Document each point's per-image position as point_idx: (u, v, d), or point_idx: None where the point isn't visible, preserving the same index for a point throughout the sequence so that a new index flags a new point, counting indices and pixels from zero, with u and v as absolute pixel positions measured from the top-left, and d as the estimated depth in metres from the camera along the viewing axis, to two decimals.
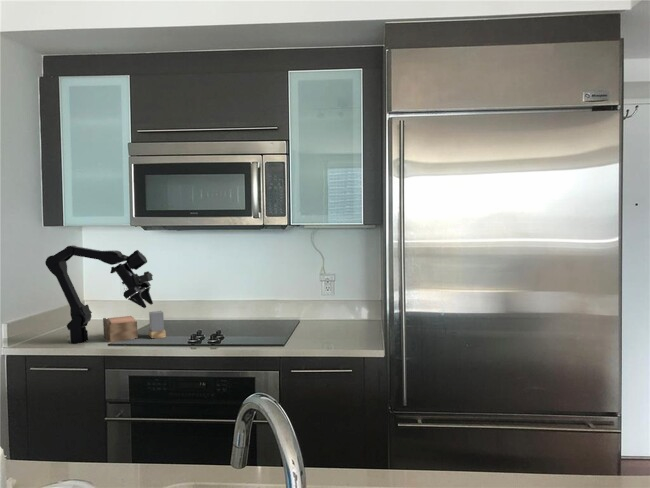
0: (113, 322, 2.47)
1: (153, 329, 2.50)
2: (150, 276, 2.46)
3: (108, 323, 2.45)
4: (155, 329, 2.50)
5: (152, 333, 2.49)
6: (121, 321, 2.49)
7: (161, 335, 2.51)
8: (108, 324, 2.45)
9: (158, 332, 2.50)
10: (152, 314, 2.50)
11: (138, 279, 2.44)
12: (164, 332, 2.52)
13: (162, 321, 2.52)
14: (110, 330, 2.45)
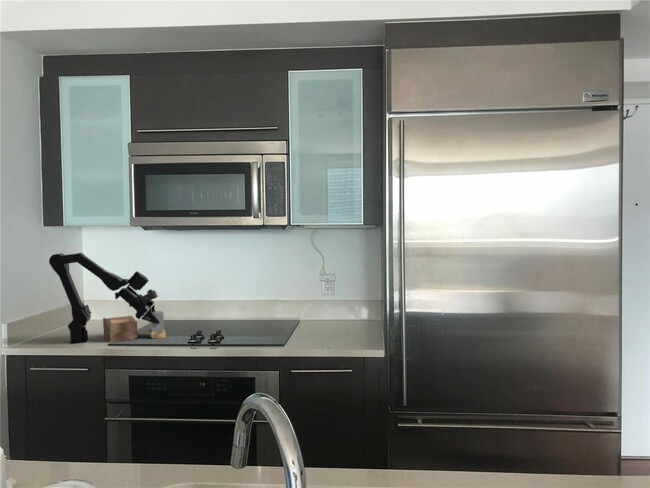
0: (113, 322, 2.47)
1: (153, 329, 2.50)
2: (155, 293, 2.52)
3: (108, 323, 2.45)
4: (155, 329, 2.50)
5: (152, 333, 2.49)
6: (121, 321, 2.49)
7: (161, 335, 2.51)
8: (108, 324, 2.45)
9: (158, 332, 2.50)
10: None
11: (145, 298, 2.49)
12: (164, 332, 2.52)
13: (162, 321, 2.52)
14: (110, 330, 2.45)
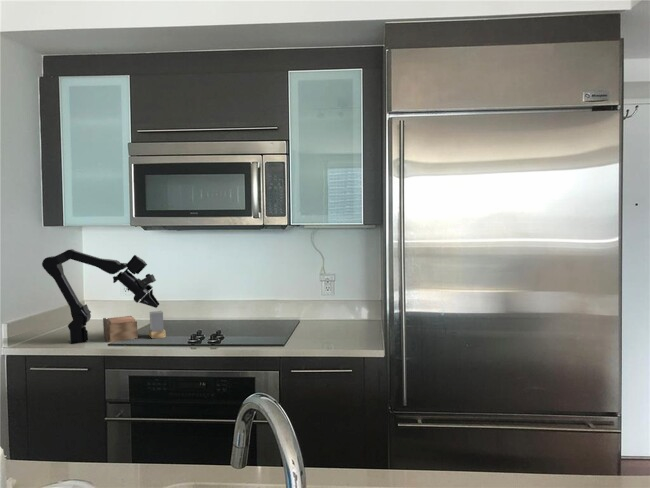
0: (113, 322, 2.47)
1: (152, 329, 2.50)
2: (153, 277, 2.52)
3: (108, 323, 2.45)
4: (154, 329, 2.50)
5: (152, 333, 2.49)
6: (121, 321, 2.49)
7: (161, 335, 2.51)
8: (108, 324, 2.45)
9: (158, 332, 2.50)
10: (151, 314, 2.50)
11: (143, 282, 2.49)
12: (164, 332, 2.52)
13: (162, 321, 2.51)
14: (110, 330, 2.45)
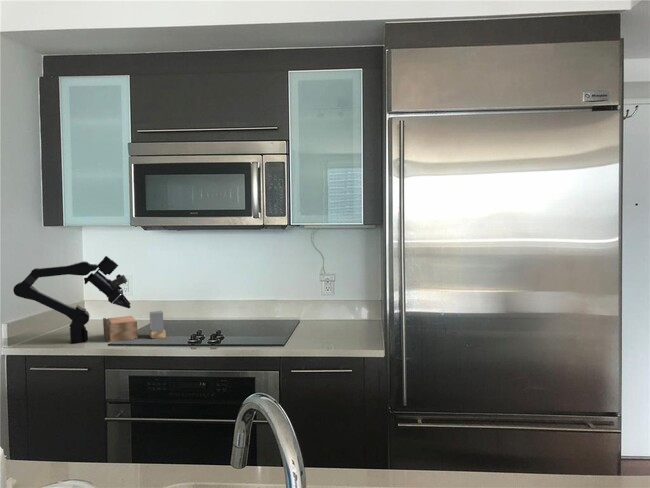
0: (113, 322, 2.47)
1: (152, 329, 2.50)
2: None
3: (108, 323, 2.45)
4: (154, 329, 2.50)
5: (152, 333, 2.49)
6: (121, 321, 2.49)
7: (161, 335, 2.51)
8: (108, 324, 2.45)
9: (158, 332, 2.50)
10: (151, 314, 2.50)
11: (115, 283, 2.50)
12: (164, 332, 2.52)
13: (162, 321, 2.51)
14: (110, 330, 2.45)
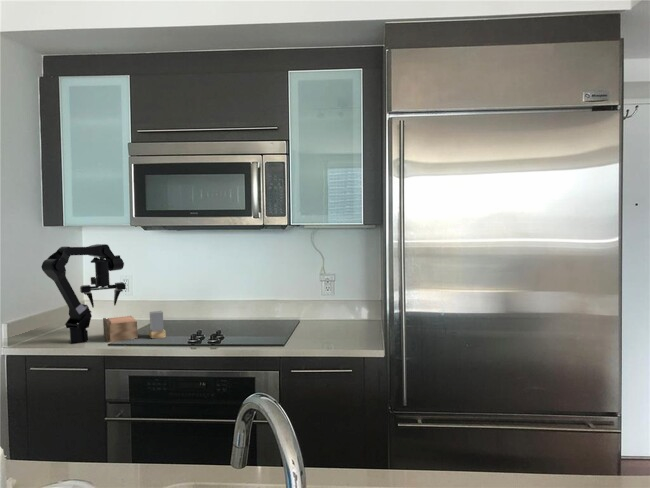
0: (113, 322, 2.47)
1: (152, 329, 2.50)
2: None
3: (108, 323, 2.45)
4: (154, 329, 2.50)
5: (152, 333, 2.49)
6: (121, 321, 2.49)
7: (161, 335, 2.51)
8: (108, 324, 2.45)
9: (158, 332, 2.50)
10: (151, 314, 2.50)
11: None
12: (164, 332, 2.52)
13: (162, 321, 2.51)
14: (110, 330, 2.45)
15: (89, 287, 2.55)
